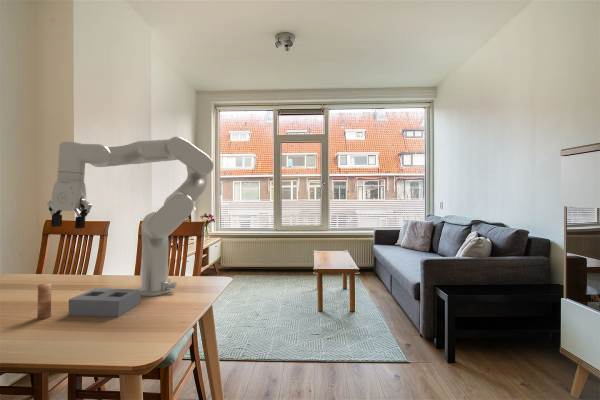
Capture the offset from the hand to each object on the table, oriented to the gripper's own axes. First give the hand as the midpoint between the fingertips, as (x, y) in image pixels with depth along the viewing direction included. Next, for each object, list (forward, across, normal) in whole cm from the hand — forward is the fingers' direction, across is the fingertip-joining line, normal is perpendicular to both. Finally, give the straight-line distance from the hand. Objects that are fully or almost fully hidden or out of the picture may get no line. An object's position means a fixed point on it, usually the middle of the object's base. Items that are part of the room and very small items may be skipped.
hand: (68, 227), depth 105 cm
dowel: (+27, +5, -10) cm, 29 cm away
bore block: (+26, +18, 0) cm, 31 cm away
